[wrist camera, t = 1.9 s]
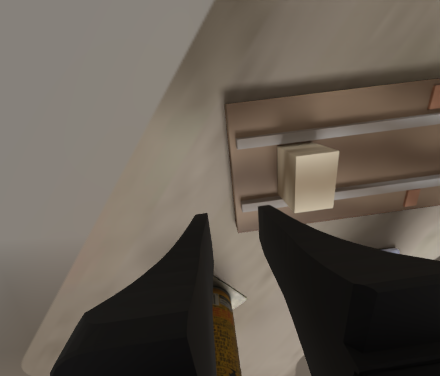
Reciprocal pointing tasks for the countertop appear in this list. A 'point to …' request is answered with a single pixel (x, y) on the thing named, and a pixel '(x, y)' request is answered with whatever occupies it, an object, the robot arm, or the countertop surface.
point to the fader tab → (307, 176)
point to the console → (341, 149)
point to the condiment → (225, 328)
